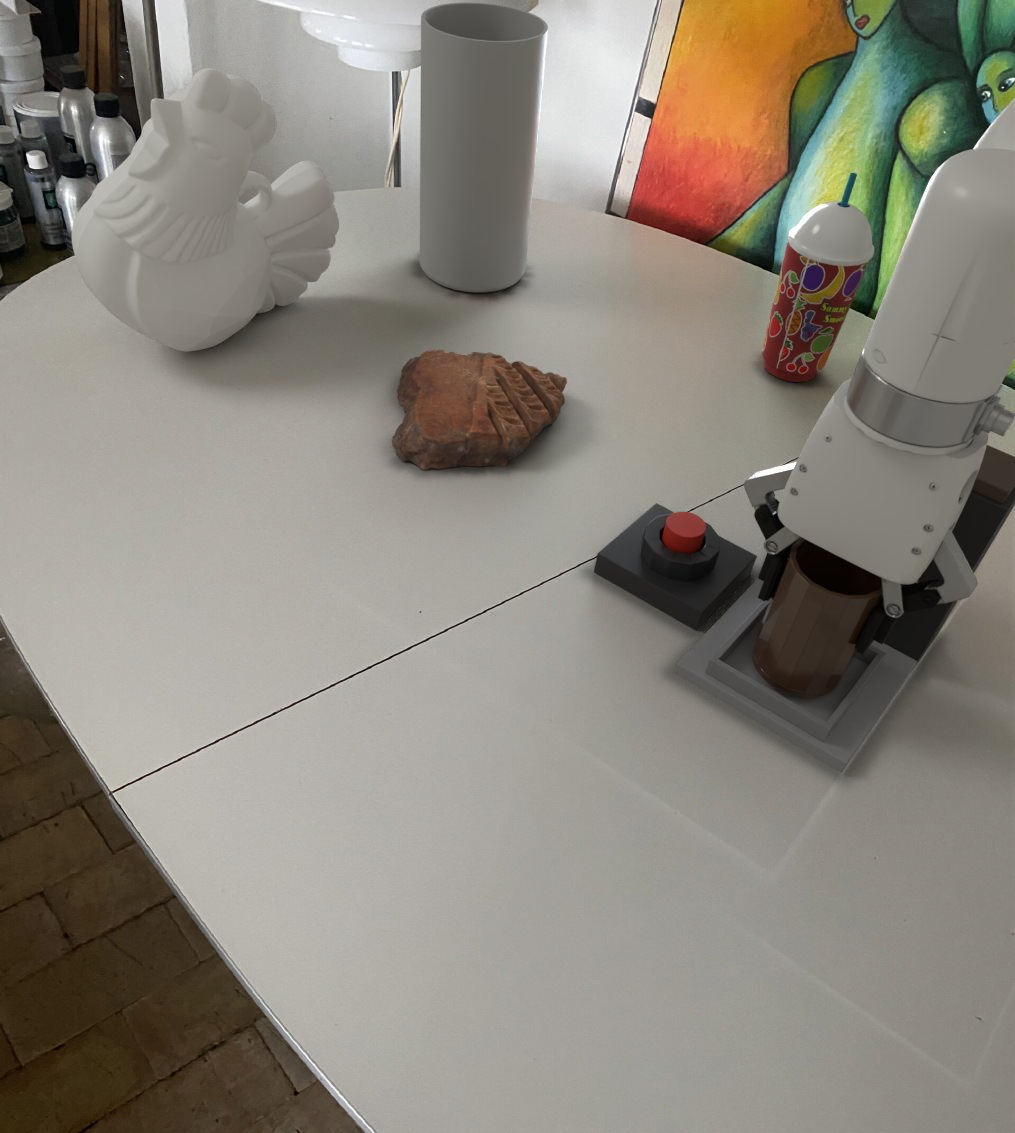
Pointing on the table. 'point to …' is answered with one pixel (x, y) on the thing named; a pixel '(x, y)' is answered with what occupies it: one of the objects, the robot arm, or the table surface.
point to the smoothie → (816, 287)
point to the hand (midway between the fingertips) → (818, 614)
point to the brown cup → (814, 621)
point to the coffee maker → (872, 677)
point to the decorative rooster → (203, 220)
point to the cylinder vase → (478, 142)
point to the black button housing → (674, 569)
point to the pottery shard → (472, 409)
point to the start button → (684, 532)
